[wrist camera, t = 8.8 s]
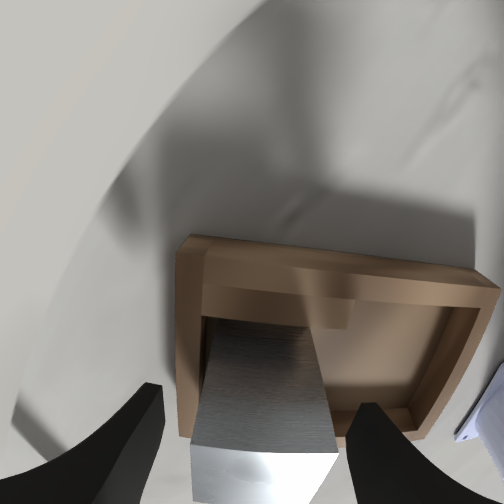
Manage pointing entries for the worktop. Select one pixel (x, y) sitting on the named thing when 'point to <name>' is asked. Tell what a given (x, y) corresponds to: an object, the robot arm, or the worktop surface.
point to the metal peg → (261, 418)
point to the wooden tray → (336, 323)
